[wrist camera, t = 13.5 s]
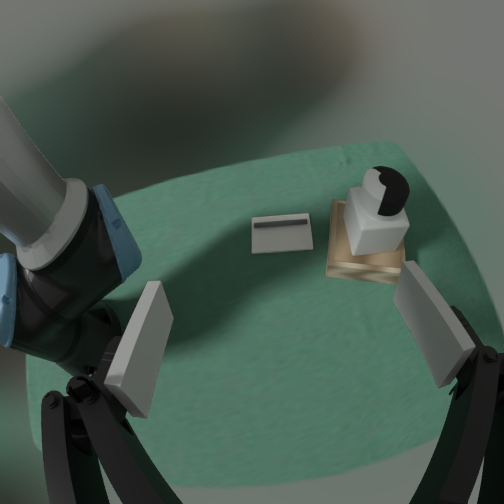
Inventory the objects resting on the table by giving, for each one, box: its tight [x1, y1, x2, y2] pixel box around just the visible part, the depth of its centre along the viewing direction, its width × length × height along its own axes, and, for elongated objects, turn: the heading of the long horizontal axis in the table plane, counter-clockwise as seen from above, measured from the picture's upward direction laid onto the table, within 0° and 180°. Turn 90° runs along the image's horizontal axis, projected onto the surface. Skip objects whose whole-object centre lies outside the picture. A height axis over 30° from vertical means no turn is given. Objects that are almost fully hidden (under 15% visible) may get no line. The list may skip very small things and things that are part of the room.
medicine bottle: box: [343, 166, 410, 256], centre depth 34 cm, size 7×7×12 cm
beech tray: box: [326, 200, 406, 284], centre depth 41 cm, size 12×12×4 cm
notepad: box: [252, 213, 313, 254], centre depth 46 cm, size 10×7×2 cm
